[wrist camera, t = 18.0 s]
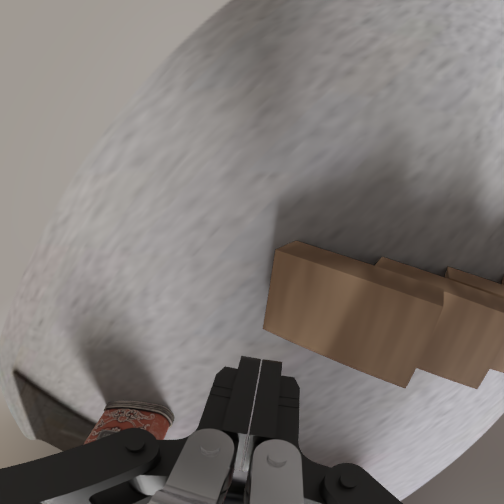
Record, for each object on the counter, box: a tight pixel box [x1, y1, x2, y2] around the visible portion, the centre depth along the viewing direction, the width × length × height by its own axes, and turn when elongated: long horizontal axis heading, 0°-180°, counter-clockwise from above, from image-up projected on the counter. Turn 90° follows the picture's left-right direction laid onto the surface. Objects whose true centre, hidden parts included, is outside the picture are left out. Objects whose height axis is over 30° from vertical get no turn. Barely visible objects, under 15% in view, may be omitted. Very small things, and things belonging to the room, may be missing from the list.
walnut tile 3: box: [444, 267, 504, 373], centre depth 15 cm, size 2×5×9 cm
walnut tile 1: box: [263, 241, 444, 388], centre depth 16 cm, size 2×5×9 cm
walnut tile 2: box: [375, 257, 504, 389], centre depth 15 cm, size 2×5×9 cm
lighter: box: [83, 401, 174, 445], centre depth 21 cm, size 8×3×10 cm, turn 105°
